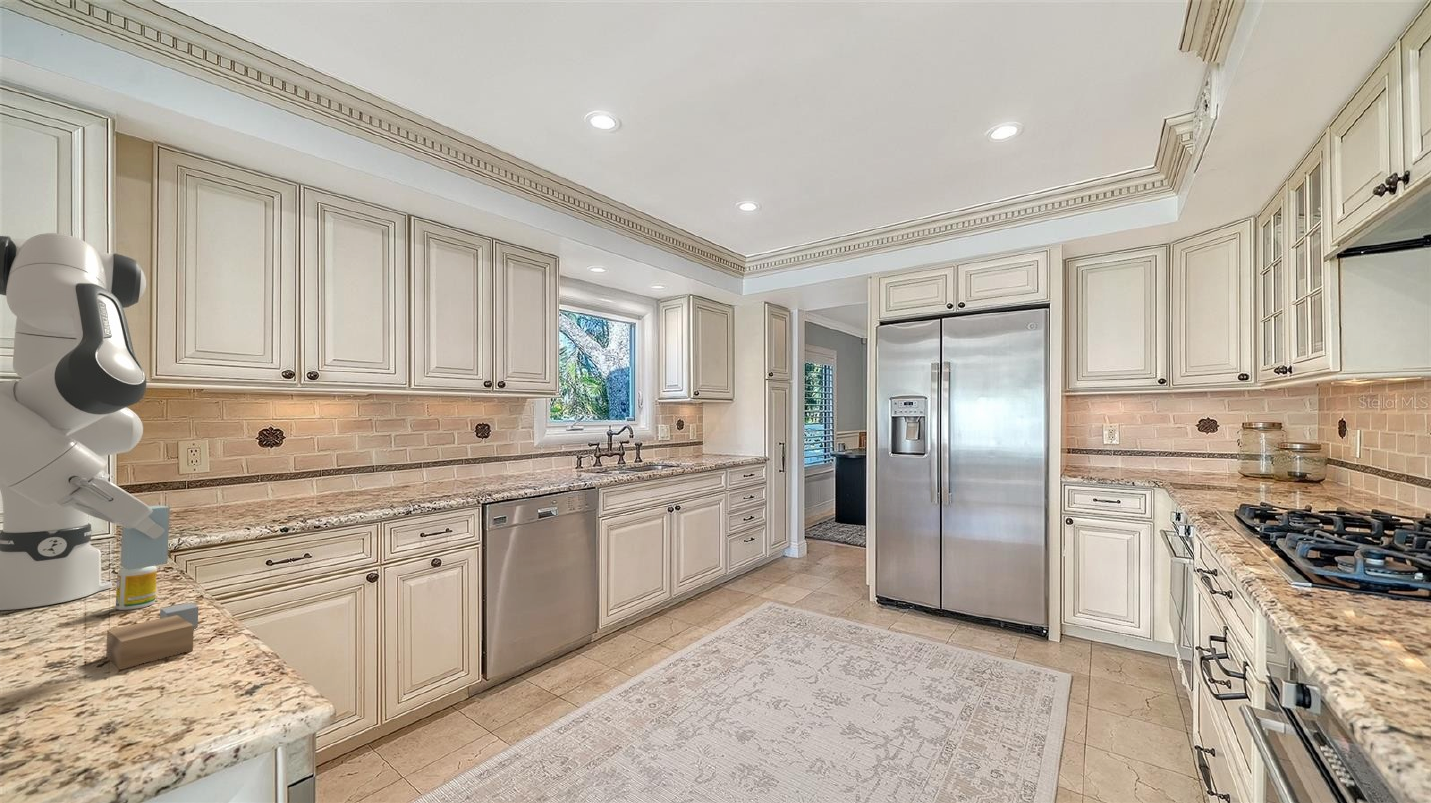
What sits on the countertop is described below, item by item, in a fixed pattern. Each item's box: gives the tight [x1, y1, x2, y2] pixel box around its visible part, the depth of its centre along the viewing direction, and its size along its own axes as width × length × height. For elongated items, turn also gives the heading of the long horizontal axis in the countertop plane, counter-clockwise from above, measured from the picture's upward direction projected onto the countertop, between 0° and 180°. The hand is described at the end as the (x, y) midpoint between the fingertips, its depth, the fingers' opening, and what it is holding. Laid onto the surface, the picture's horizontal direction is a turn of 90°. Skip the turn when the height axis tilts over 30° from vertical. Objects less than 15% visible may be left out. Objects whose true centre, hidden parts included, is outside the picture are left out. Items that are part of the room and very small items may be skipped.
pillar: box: [120, 504, 171, 570], centre depth 89 cm, size 4×4×9 cm
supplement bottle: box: [115, 565, 158, 611], centre depth 109 cm, size 5×5×10 cm
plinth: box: [105, 615, 195, 670], centre depth 87 cm, size 8×8×4 cm
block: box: [159, 602, 199, 629], centre depth 97 cm, size 4×4×4 cm
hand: (153, 532), depth 90 cm, fingers closed on pillar, 4 cm apart
